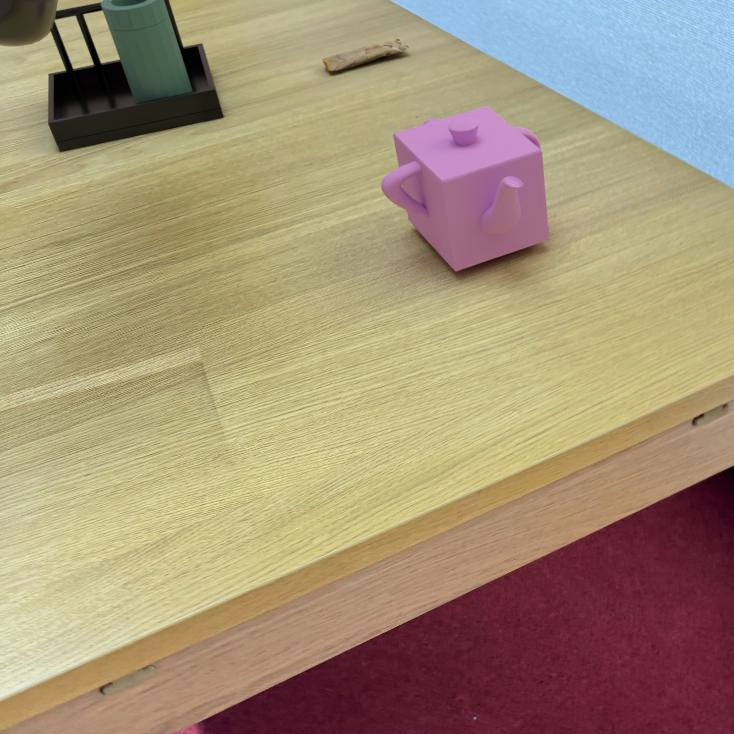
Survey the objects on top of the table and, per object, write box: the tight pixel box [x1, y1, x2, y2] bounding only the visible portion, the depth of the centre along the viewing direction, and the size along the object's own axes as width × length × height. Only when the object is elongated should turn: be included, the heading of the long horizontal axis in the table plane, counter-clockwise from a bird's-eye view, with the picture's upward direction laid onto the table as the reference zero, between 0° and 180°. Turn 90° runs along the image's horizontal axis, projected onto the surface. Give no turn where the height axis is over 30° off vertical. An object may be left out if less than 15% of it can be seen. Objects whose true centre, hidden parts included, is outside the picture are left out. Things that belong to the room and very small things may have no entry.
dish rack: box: [47, 0, 225, 152], centre depth 111 cm, size 17×14×9 cm
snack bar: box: [321, 38, 410, 72], centre depth 118 cm, size 10×2×3 cm
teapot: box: [380, 105, 550, 272], centre depth 85 cm, size 18×14×10 cm
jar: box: [100, 0, 193, 103], centre depth 109 cm, size 6×6×10 cm
